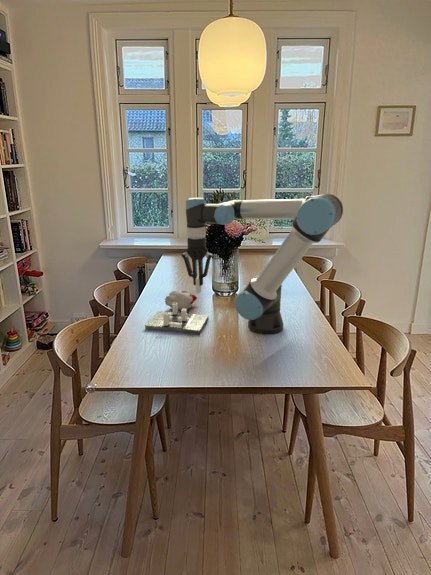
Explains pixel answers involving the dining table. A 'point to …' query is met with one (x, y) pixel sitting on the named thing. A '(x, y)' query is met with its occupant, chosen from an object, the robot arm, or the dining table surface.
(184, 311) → the breaker mid
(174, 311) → the breaker far
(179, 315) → the panel
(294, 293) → the dining table surface
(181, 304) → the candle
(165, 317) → the breaker near
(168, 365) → the dining table surface
